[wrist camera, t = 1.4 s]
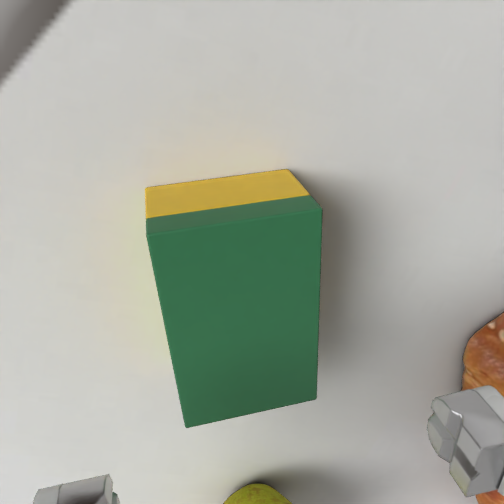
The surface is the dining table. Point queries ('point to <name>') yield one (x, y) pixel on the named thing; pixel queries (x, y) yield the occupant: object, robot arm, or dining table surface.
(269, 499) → the fruit
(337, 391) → the dining table surface
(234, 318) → the sponge
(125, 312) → the dining table surface
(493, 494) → the slice of bread
